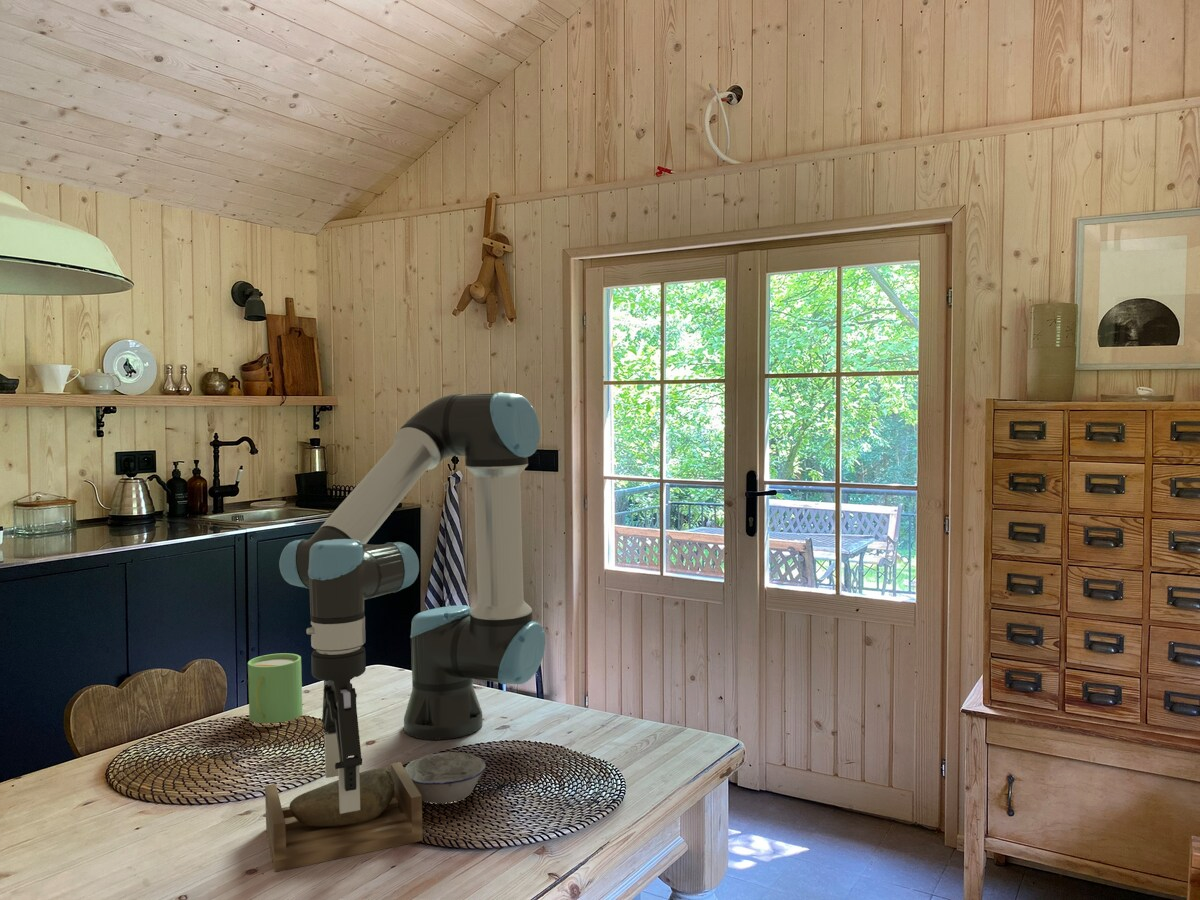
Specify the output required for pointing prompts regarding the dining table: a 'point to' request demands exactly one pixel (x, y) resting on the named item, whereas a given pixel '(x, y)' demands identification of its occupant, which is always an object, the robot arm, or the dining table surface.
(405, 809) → the rack
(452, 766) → the bowl
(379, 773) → the stone
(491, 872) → the dining table surface
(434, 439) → the robot arm
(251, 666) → the mug
